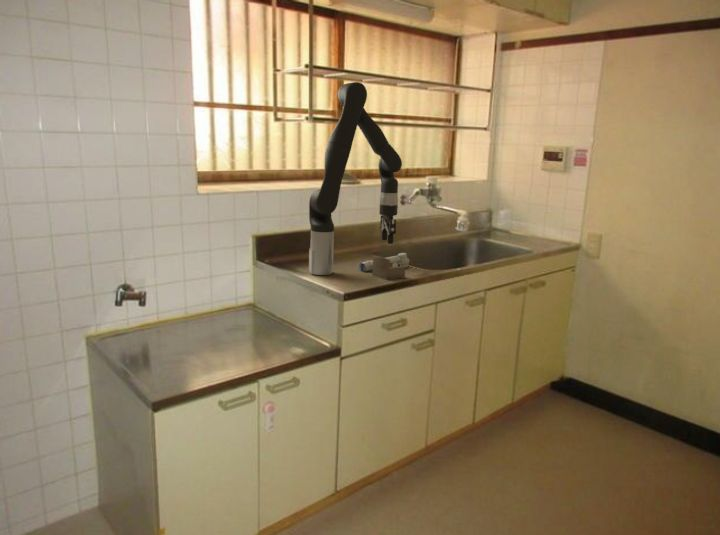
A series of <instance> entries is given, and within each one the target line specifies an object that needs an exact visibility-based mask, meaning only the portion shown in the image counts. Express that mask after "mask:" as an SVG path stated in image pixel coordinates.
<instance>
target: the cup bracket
mask: <svg viewBox="0 0 720 535" xmlns="http://www.w3.org/2000/svg"><path fill="white" fill-rule="evenodd" d="M386 258H387V257H382V256H379V255H372V260H373V270H371V271H372V274H371V275H372V276H374V277H376V278H380V279H382V280H385V281H389V280H396V279H405V277H406V268H405V266H400V267H397V266H394V267H393V263H392V262H390V260H389V259H386Z"/></svg>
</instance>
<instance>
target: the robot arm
mask: <svg viewBox="0 0 720 535" xmlns="http://www.w3.org/2000/svg"><path fill="white" fill-rule="evenodd" d="M337 98H338V99H337V100H338V101H339V103H340V104H341V106H342V112H341V114H340V115H341V116H340V118H339V120H338V121H337V123H336V125H335V127H334V129H333V130H332V132H331V134H330V136H329V138H328V141H327V144H326V149H325V152H324V153H325V154H324V173H323V180H322V184H321V185H320V186H321V187H320V188H319V189H316V190H315V191H313V192H312V193H311V195H310V198H309V203H308V206H309V207H308V208H309V212H308V213H309V214H308V215H309V216H308V218H309V225H310V246H309V249H308V272H309V274H311V275H314V276H315V275H316V276H329V275H332V274H333V272H334V246H335V245H334V243H335V242H334V241H335V224H334V222H333V219H332V213H334V212H335V210H336V209H337V207H338V203H339V198H340V191H341V185H342V183H343V182H342V181H343V177H344V175H345V171H346V167H347V164H348V161H349V157H350V154H351V151H352V147H353V142H354V139H355V135H356V131H357V127H358V128H359V130H360V131H361V132H362V134H363V136H364V137H365V139H366V142H367V143H368V145H369V146H370V148H371V149H372V150H371V151H373V153H375V155H377V156H379V157H380V158H379V161H378V173H379V178H380V179H379V180H380V196H379V215H380V224H379V228H380V231H381V241H387V244H392V245H393V244H394V235H395V234H397V233H396V232H397V230H396V229H397V219H395V218H394V216H395V217H396V216H397V215H398V209H399V206H398V204H399V203H398V202H399V194H398V193H399V192H398V190H399V189H398V188H399V181H398V180H397V178H396V177H395V174H394V173H398V172H399V171H401V169H402V166H403V162H402V161H403V160H402V158H401V156H400V155H399V153H398V152H397V151H396V149H395V148H394V147H393V146H392V145H391V143H389V141H388V139H387V137H386V135H385V134H384V131H383V130H382V129H381V127H380V126H379V125H378V124H377V123H376V122H375V120H374V119H373V118H372V117H371V116H370V115H369V114H368V112H367V110H366V109H365V106H366V103H367V99H368V92H367V88H366V86H365V85H364V84H363V83H362V82H360V81H359V82H358V81H354V82H348V83H345V84H342V85H341V86H340V87H339V88H338V91H337Z"/></svg>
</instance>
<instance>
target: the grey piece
mask: <svg viewBox="0 0 720 535" xmlns="http://www.w3.org/2000/svg"><path fill="white" fill-rule="evenodd" d="M385 258H386V259H389V260H390V262H392V263H393V264H396V267H400V266H405V269H406V268H408V267H409V266H410V265H409V264H410V258H408V255H407V252H400V253H398V254H397V255H393V256H387V257H385ZM358 267H359V271H360V272H362V273H365V272H371V271H373V259H372V260H366V261H364V262H363V261H362V262H360V263H359V265H358Z"/></svg>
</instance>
